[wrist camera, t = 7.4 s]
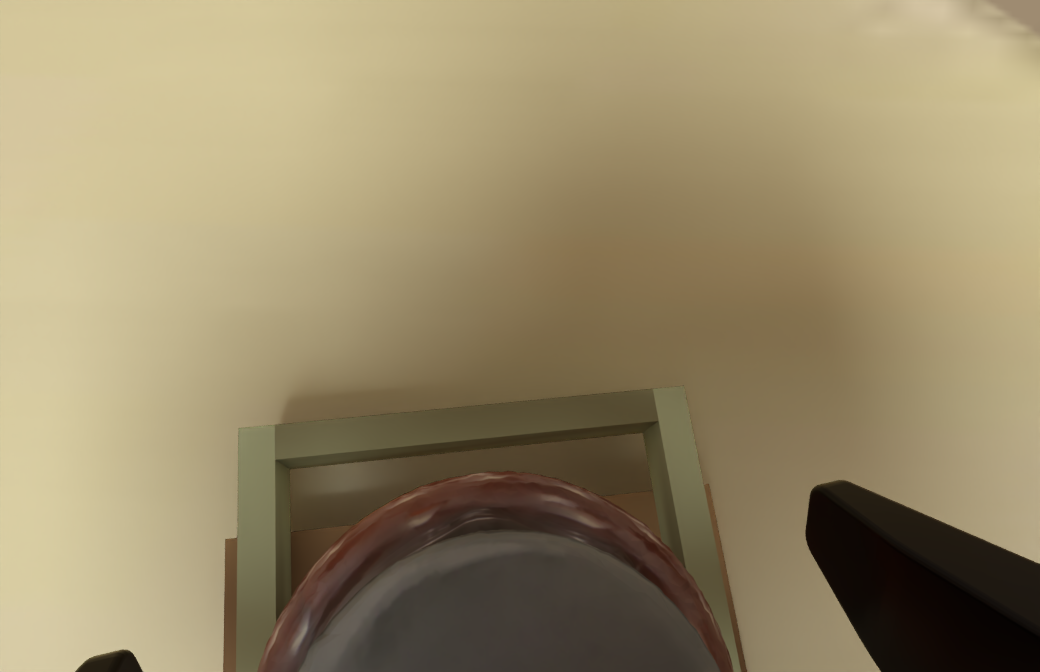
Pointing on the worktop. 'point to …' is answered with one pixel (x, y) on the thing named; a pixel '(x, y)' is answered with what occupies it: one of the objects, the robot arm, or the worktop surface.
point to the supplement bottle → (497, 588)
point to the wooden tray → (278, 448)
